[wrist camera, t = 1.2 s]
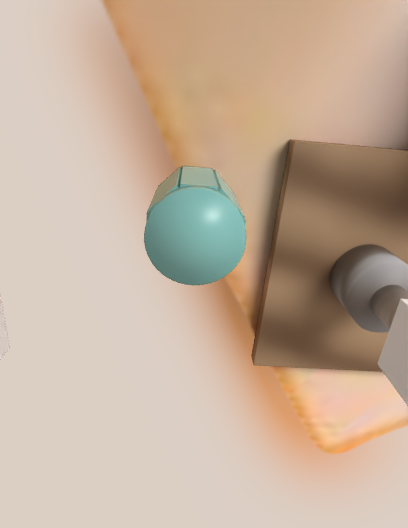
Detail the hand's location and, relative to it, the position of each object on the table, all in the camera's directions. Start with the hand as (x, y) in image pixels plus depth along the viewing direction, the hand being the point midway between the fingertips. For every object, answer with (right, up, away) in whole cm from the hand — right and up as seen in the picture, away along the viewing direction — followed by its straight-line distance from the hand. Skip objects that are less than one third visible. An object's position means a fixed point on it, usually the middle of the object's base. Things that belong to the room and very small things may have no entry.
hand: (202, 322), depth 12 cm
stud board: (+12, +2, +16) cm, 20 cm away
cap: (-1, +6, +13) cm, 15 cm away
